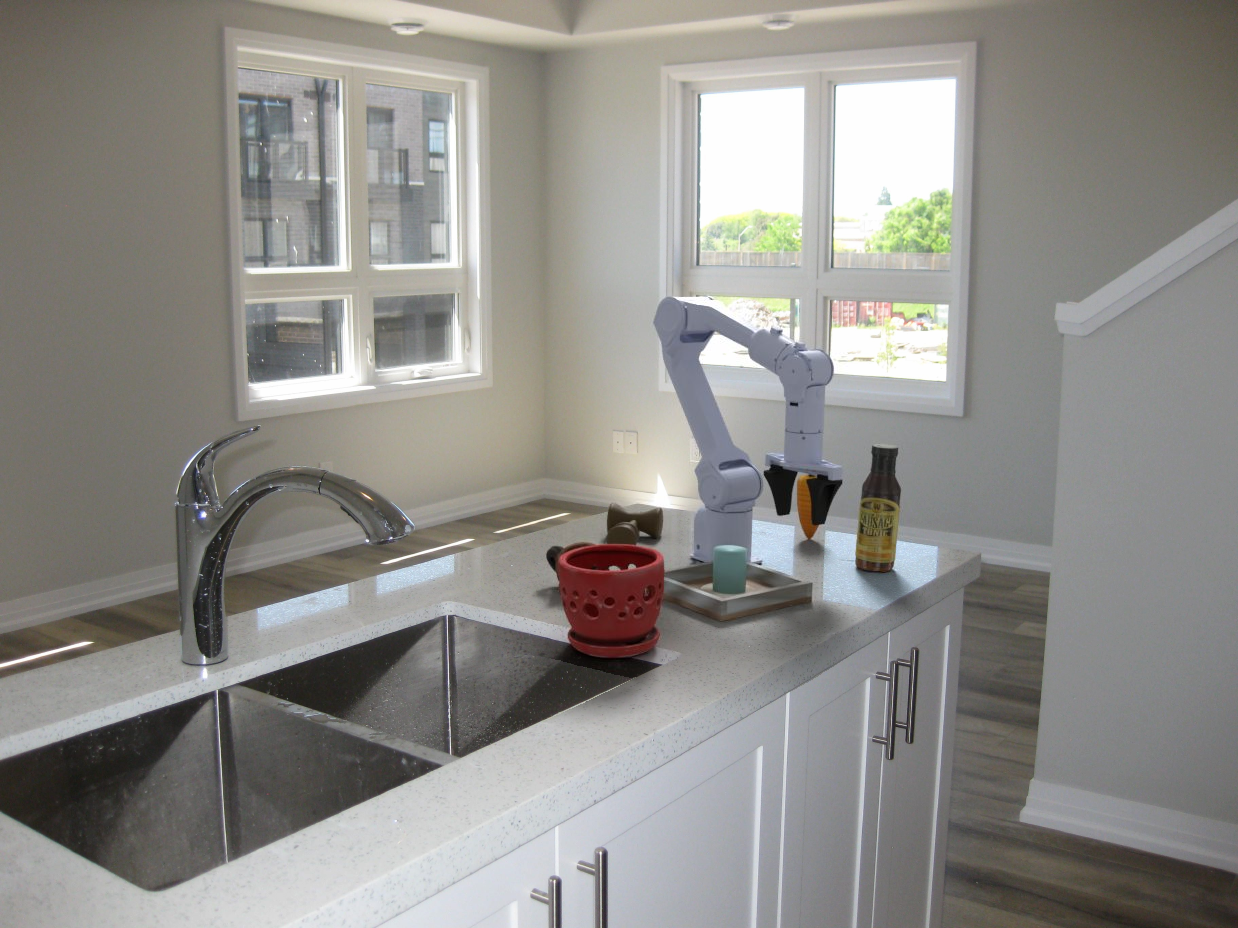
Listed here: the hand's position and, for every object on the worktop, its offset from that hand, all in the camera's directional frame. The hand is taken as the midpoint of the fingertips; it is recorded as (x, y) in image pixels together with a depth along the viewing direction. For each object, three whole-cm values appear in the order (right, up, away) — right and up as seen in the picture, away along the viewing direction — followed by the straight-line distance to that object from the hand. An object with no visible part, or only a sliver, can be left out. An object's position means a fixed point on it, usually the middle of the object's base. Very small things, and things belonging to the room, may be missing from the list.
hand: (800, 519), depth 175 cm
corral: (-12, -11, -8) cm, 18 cm away
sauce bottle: (+13, -8, +9) cm, 18 cm away
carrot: (+6, -5, +28) cm, 29 cm away
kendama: (-25, -5, +25) cm, 36 cm away
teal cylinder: (-12, -10, -8) cm, 17 cm away
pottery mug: (-34, -10, -5) cm, 36 cm away
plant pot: (-29, -15, -30) cm, 44 cm away
